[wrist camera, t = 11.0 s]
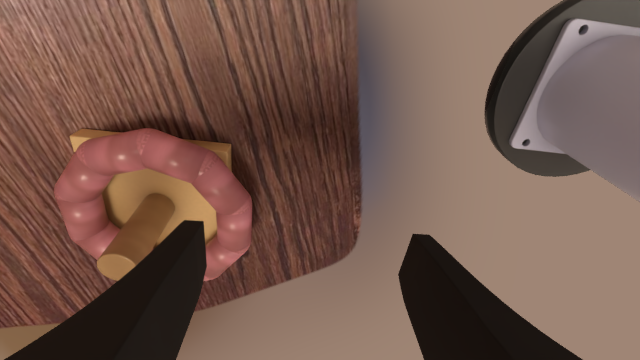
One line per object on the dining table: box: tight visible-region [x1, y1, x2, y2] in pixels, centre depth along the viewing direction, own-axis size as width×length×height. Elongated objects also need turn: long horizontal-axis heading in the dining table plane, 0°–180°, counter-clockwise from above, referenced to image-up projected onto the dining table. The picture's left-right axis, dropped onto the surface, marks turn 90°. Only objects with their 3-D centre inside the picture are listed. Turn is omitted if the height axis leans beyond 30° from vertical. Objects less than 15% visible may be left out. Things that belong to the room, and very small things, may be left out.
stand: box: [70, 129, 232, 281], centre depth 19 cm, size 9×9×7 cm
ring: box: [54, 128, 252, 281], centre depth 20 cm, size 11×12×2 cm
